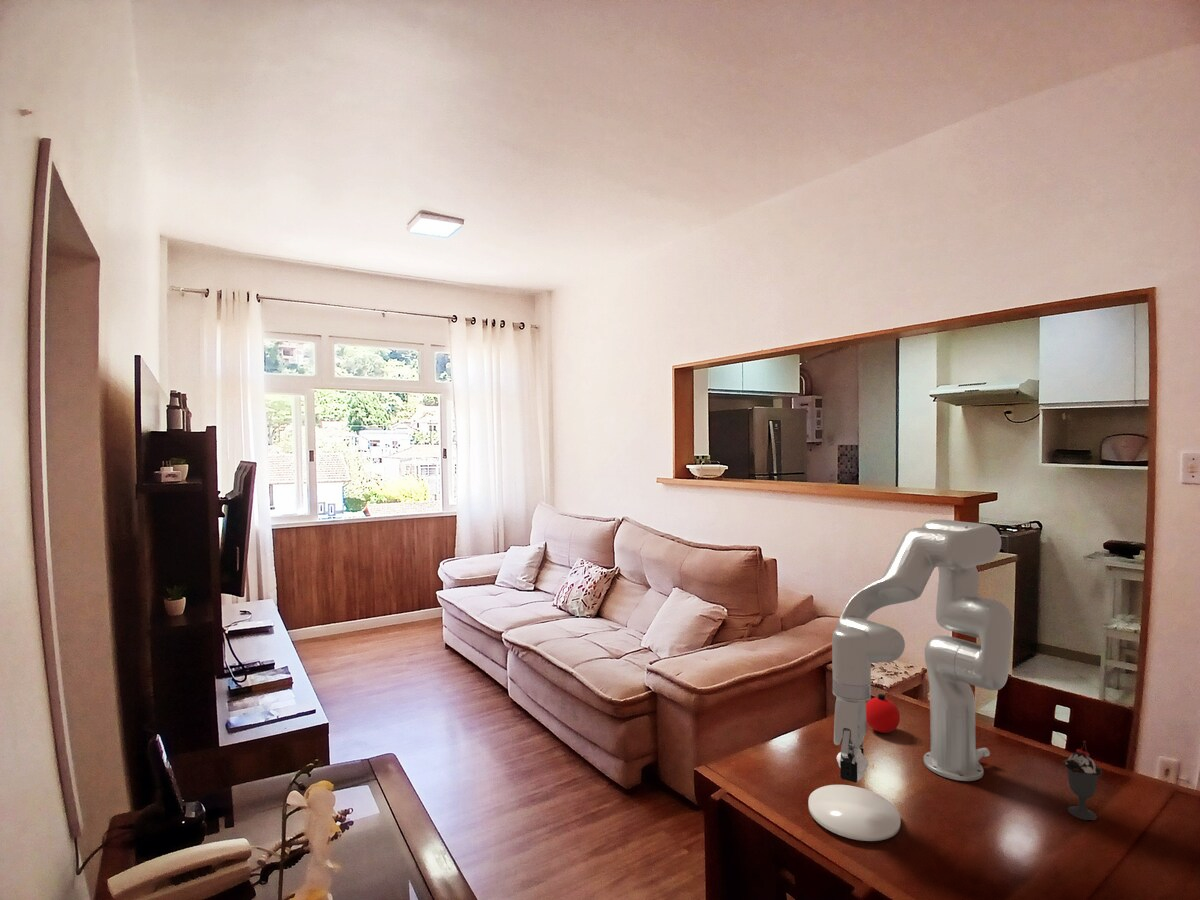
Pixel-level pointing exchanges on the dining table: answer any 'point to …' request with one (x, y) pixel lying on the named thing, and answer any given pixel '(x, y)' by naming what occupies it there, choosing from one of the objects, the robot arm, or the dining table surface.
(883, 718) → the ornament
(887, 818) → the cake plate
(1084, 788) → the sundae
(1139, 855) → the dining table surface
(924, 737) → the dining table surface
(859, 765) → the muffin
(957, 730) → the robot arm
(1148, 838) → the dining table surface
